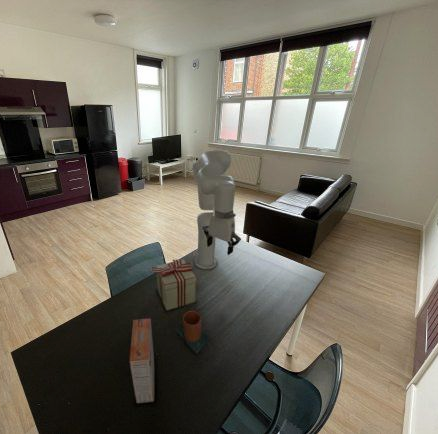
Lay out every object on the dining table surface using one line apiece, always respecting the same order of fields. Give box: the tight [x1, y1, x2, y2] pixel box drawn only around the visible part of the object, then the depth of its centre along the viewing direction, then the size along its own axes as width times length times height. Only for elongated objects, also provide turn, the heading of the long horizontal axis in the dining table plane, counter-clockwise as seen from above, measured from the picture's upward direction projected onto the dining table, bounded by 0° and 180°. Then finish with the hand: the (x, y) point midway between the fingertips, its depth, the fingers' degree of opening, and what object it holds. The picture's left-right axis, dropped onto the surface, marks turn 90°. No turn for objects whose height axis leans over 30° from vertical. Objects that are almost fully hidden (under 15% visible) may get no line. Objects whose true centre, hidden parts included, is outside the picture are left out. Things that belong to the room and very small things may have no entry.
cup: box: [182, 310, 202, 342], centre depth 91 cm, size 7×7×9 cm
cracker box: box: [129, 317, 155, 404], centre depth 75 cm, size 14×6×21 cm, turn 5°
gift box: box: [151, 258, 198, 311], centre depth 112 cm, size 17×18×17 cm
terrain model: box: [174, 326, 212, 354], centre depth 94 cm, size 13×8×2 cm, turn 40°
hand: (219, 249), depth 101 cm, fingers open, 9 cm apart
